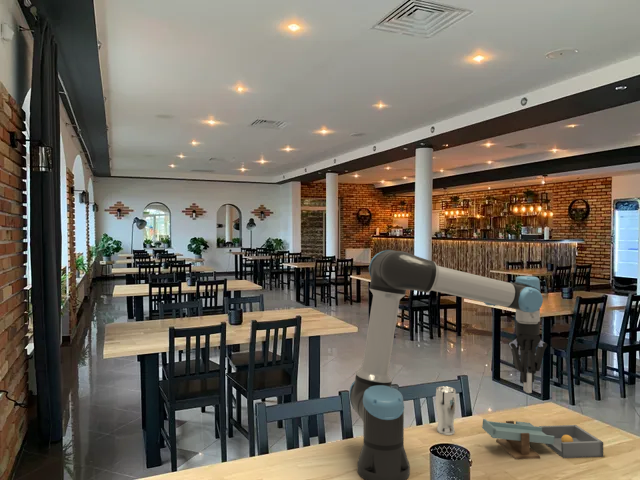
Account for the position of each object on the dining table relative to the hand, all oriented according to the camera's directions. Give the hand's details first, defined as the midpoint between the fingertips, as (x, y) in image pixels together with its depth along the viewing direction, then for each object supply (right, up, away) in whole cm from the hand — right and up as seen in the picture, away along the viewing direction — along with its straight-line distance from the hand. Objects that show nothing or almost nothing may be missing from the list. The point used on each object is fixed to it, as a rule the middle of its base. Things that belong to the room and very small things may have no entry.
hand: (527, 391), depth 162 cm
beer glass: (-26, -16, +7) cm, 31 cm away
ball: (+10, -14, -7) cm, 18 cm away
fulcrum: (-7, -16, -8) cm, 19 cm away
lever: (-7, -12, -5) cm, 15 cm away
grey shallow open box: (+11, -16, -7) cm, 21 cm away
